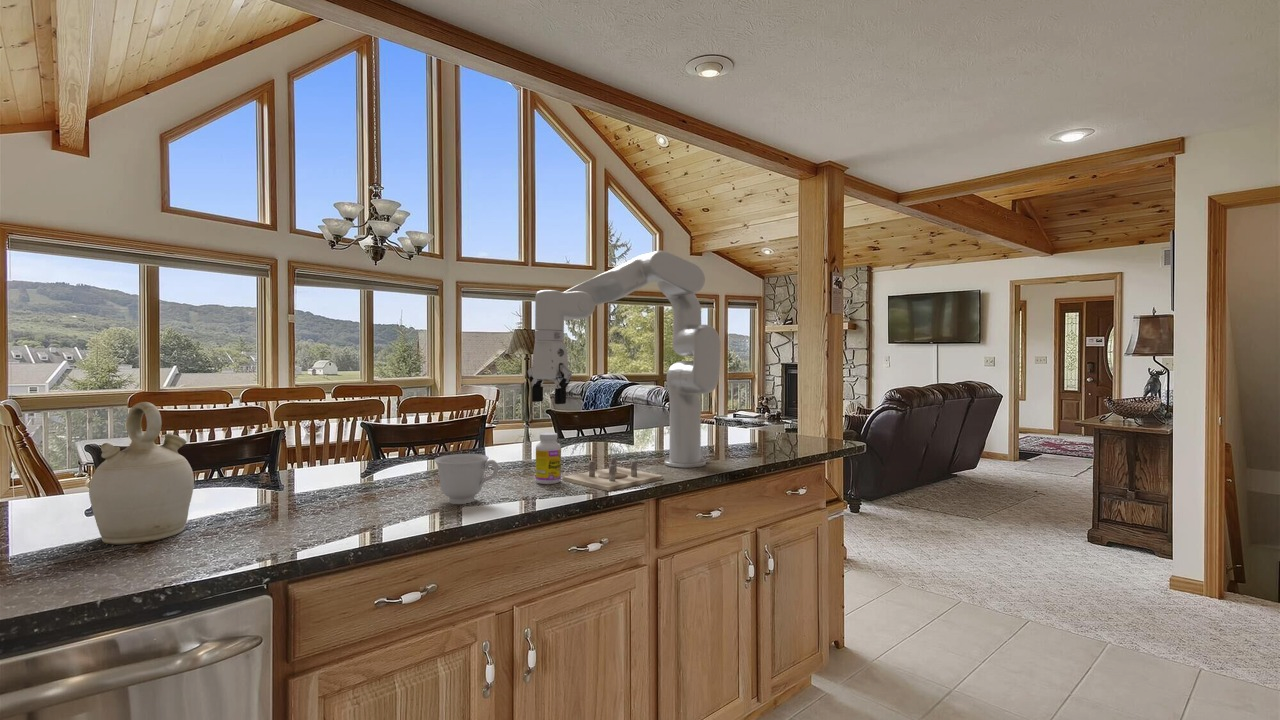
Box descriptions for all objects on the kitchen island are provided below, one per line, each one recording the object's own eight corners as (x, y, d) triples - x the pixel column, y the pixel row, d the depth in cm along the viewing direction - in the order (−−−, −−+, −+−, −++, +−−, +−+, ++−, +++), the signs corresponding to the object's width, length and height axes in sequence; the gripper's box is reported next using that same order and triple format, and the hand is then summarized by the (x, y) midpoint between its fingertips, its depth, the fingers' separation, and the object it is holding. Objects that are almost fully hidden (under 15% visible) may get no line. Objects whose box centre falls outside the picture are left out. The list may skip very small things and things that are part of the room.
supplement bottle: (548, 486, 158) (548, 436, 158) (530, 482, 162) (530, 433, 162) (566, 481, 164) (566, 433, 164) (548, 478, 168) (548, 431, 168)
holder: (617, 470, 180) (617, 453, 179) (662, 479, 167) (662, 460, 167) (562, 480, 165) (562, 461, 165) (608, 491, 153) (608, 471, 153)
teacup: (486, 510, 134) (486, 464, 134) (423, 506, 137) (423, 461, 137) (508, 497, 146) (508, 455, 146) (450, 494, 149) (450, 452, 149)
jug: (181, 519, 127) (179, 397, 126) (205, 533, 117) (204, 401, 117) (81, 536, 115) (80, 402, 115) (99, 553, 105) (98, 407, 105)
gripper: (581, 337, 159) (581, 404, 159) (540, 338, 171) (540, 400, 171) (558, 336, 153) (558, 405, 154) (518, 337, 165) (517, 401, 166)
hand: (548, 402), depth 162 cm, fingers open, 9 cm apart
